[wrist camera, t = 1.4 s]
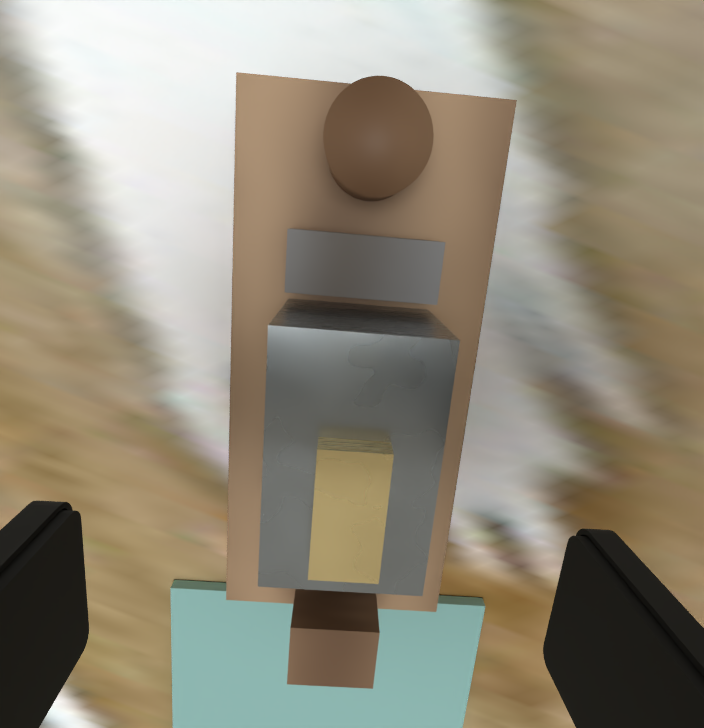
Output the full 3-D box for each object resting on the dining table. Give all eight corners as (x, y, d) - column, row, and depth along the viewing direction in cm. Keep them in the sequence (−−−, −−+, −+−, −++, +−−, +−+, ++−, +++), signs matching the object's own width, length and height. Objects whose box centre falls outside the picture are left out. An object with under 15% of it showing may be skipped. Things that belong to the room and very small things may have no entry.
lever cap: (428, 309, 18) (467, 347, 12) (403, 506, 20) (426, 616, 14) (288, 298, 17) (263, 331, 12) (278, 498, 20) (253, 606, 14)
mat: (482, 597, 26) (485, 606, 25) (453, 754, 29) (455, 765, 28) (174, 579, 25) (170, 587, 25) (176, 742, 28) (173, 752, 28)
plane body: (482, 125, 20) (571, 59, 12) (421, 552, 25) (456, 697, 17) (257, 103, 19) (201, 21, 12) (244, 541, 25) (199, 684, 17)
